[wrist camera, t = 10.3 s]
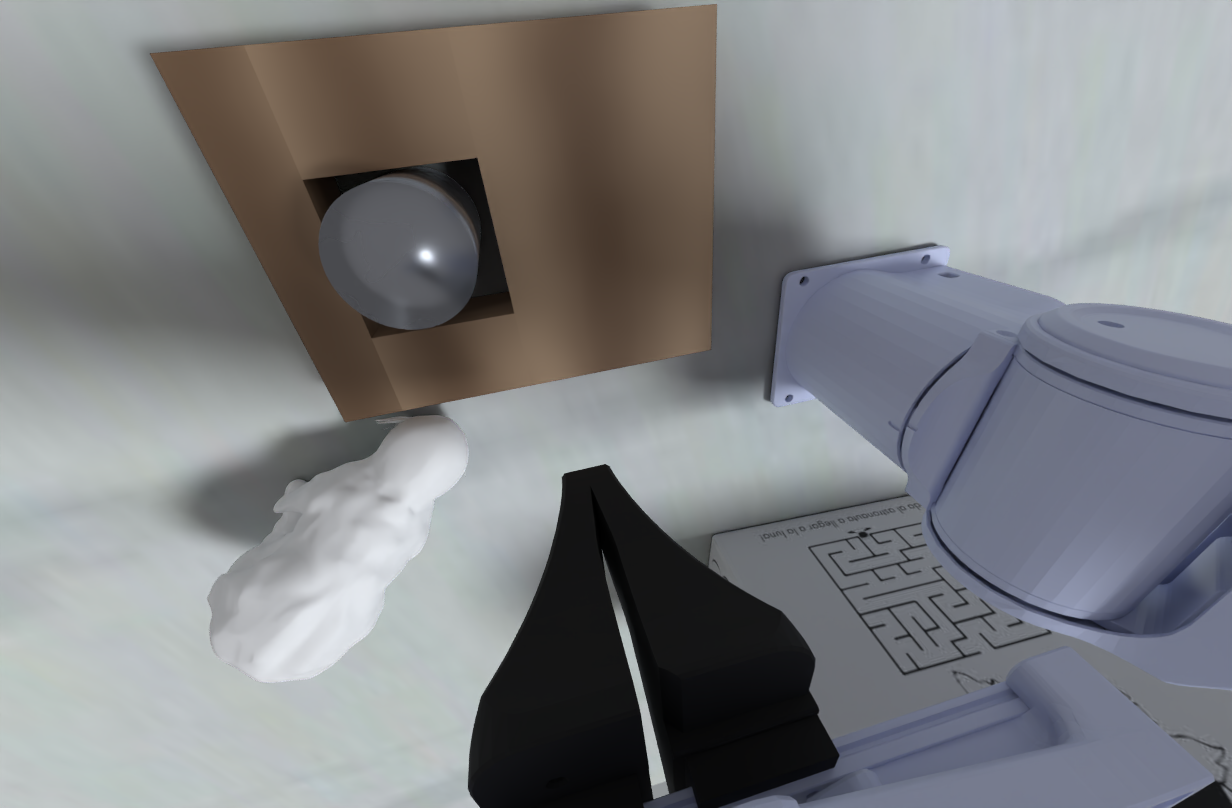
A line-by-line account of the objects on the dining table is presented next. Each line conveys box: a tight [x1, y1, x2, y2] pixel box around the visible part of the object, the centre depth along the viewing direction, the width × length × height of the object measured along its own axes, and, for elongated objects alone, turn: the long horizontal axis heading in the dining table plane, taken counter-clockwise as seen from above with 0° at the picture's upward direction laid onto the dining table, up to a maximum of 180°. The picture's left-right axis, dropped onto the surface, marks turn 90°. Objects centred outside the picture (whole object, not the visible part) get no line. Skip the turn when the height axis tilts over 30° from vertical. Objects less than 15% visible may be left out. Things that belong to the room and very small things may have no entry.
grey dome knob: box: [318, 166, 481, 330], centre depth 15 cm, size 4×4×6 cm
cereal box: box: [708, 496, 1232, 808], centre depth 25 cm, size 22×8×25 cm, turn 92°
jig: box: [150, 4, 717, 422], centre depth 17 cm, size 16×12×3 cm
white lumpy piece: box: [207, 415, 469, 683], centre depth 20 cm, size 6×8×12 cm
